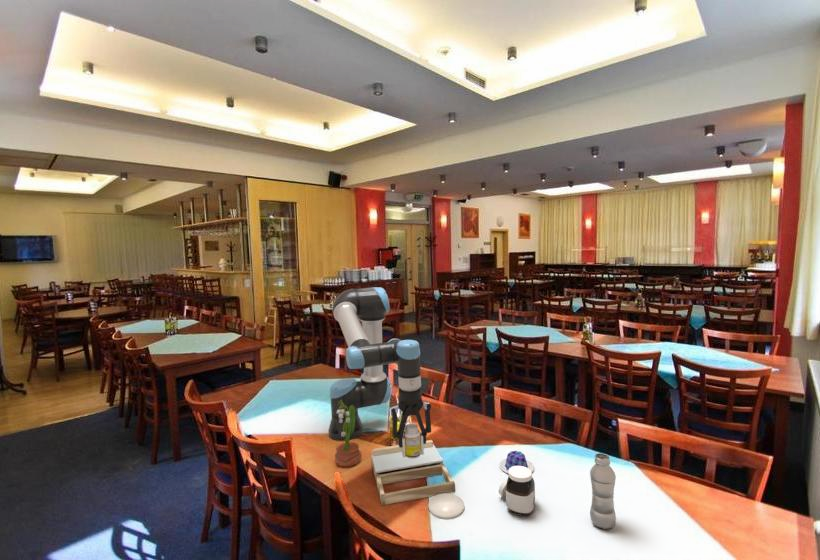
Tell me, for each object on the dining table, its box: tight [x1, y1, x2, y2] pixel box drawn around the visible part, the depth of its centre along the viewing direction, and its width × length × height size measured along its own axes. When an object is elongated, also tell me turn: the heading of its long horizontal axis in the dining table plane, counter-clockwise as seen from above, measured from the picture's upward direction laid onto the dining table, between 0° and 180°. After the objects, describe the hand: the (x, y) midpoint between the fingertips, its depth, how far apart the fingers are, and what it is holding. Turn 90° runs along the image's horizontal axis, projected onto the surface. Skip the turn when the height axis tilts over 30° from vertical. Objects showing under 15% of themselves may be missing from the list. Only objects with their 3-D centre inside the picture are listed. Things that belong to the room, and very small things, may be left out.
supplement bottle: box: [403, 423, 421, 459], centre depth 135 cm, size 6×6×10 cm
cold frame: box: [370, 456, 456, 506], centre depth 142 cm, size 26×24×3 cm
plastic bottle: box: [589, 452, 617, 530], centre depth 113 cm, size 6×7×20 cm
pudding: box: [499, 450, 535, 475], centre depth 145 cm, size 12×12×5 cm
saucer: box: [428, 493, 465, 520], centre depth 124 cm, size 11×11×1 cm
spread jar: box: [498, 466, 536, 516], centre depth 124 cm, size 12×11×12 cm
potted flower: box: [334, 400, 362, 467], centre depth 153 cm, size 12×10×25 cm
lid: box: [370, 439, 444, 474], centre depth 148 cm, size 12×24×3 cm, turn 103°
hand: (412, 454), depth 135 cm, fingers closed on supplement bottle, 5 cm apart
